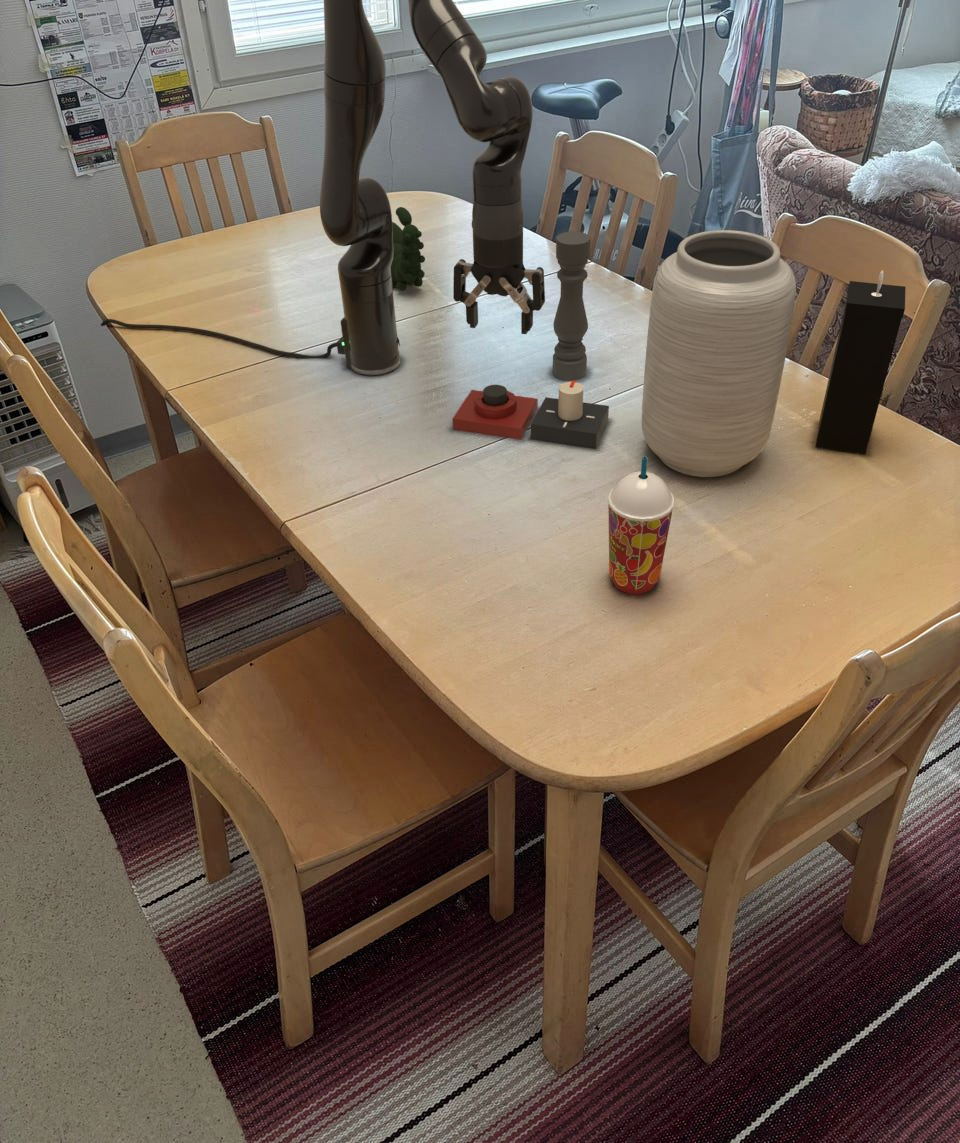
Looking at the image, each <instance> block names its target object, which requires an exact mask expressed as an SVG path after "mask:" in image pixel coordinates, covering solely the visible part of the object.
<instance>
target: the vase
mask: <svg viewBox="0 0 960 1143" xmlns="http://www.w3.org/2000/svg"><path fill="white" fill-rule="evenodd" d="M796 294H797V282H796V277H795V274H794V271H793V269H792V268H791V267H790V265H789V264H788V263H787V262H786V261H785V260H784V259H782V258H781V250H780V248H779V246H778V245H777V243H775V242H774V241H772V240H771V239H769V238H768V237H765V236H762V235H760V234H757V233H753V232H748V231H743V230H742V231H741V230H732V229H715V230H706V231H702V232H698V233H694V234H691V235H689V236H687V237H685V238H684V239H683V240H682V241H680V243H679V244H678V246H677V249H676V252H674V253H672V254H670V255H669V256H668V257H666V258H665V259H664V260H663V261H662V263H660V265H659V267H658V268H657V271H656V273H655V276H654V279H653V284H652V290H651V299H650V305H649V316H648V325H647V326H648V327H647V336H646V337H647V338H646V347H645V348H646V349H645V362H644V371H643V388H642V398H641V399H642V400H641V431H642V435H643V438H644V440H645V443H646V445H648V447H649V449H650V450H651V451H652V452H653V453H654V454H655V455H656V456H657V457H658V458H659V459H660V461H661V462H662V463H663V464H665V465H666V466H667V467H669V468H670V469H672V470H673V471H676V472H678V473H681V474H683V475H687V476H691V477H692V476H693V477H699V478H717V477H722V476H726V475H729V474H732V473H734V472H736V471H738V470H739V469H740V468H742V467H743V466H745V465H747V464H749V463H750V462H752V461H753V460H754V459H756V458H757V457H758V456H759V454H761V452H763V450H764V448H765V447H766V445H767V443H768V442H769V439H770V435H771V431H772V429H773V428H772V427H773V424H774V419H775V415H776V414H775V413H776V408H777V404H778V398H779V395H780V390H781V384H782V379H783V378H782V377H783V372H784V367H785V362H786V355H787V350H788V345H789V340H790V334H791V328H792V322H793V316H794V310H795V309H794V308H795V302H796Z"/></svg>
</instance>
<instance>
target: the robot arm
mask: <svg viewBox="0 0 960 1143" xmlns="http://www.w3.org/2000/svg"><path fill="white" fill-rule="evenodd" d="M406 1H407V8H408V15H409V22H410V26H411V29H412V34H413V35H414V38H415V41H416V42H417V44H418V46H419V48H420V49H421V51H422V52H423V53H424V55H425V57H426V58H427V60H429V62H430V63H431V65H432V66H433V68H434V69H435V70H436V72H437V74H438V75H439V76H440V78H441V79H442V82H443V84H444V87H445V90H446V94H447V96H448V98H449V100H450V103H451V106H452V108H453V109H452V110H453V112H454V114H455V117H456V120H457V122H458V124H459V126H460V127H461V129H462V130H463V131H464V133H465V134H467V136H469V137H470V139H473V140H474V141H477V142H479V143H488V145H487V147H486V148H485V150H484V151H483V152H481V153H480V154H479V155H478V156H476V158H475V160H474V162H473V164H472V195H473V196H472V197H473V198H472V199H473V200H472V202H473V204H472V211H471V212H472V213H471V228H472V229H471V230H472V246H473V247H472V248H473V249H472V252H473V253H472V254H473V256H472V257H473V263H470V262H467V261H466V259H463V258H460V259H459V260H458V261H457V262H456V264H455V265H454V266H453V292H452V293H453V294H452V295H453V297H452V298H453V300H454V302H461V303H462V304H464V306H465V317H466V318H465V321H466V323H467V325H469V328H470V329H476V328H477V327H478V325H479V303H478V301H477V299H478V298H479V296H480V295H481V294H482V293H483V292H484V293H487V295H490V296H494V295H498V296H501V297H506V298H507V296H509V297H510V299H512V301H513V303H516V304H517V305H518V307H519V308H520V309H521V317H520V318H521V320H520V324H521V325H520V326H521V328H520V329H521V330H520V333H521V335H527V334H528V332H531V330H532V328H533V325H534V311H537V312H538V311H540V310H542V307H543V306H544V304H545V303H546V291H545V290H546V289H545V271H544V268H543V267H541V266H538V267H537V268H536V269H526V267H525V265H524V209H523V202H522V200H523V199H522V166H523V162H524V160H525V156H526V152H527V147H528V142H529V139H530V134H531V131H532V130H531V129H532V123H533V117H534V114H533V113H534V110H533V108H534V107H533V101H532V97H531V94H530V92H529V90H528V87H527V85H526V84H525V83H524V82H523V80H521V79H519V78H517V77H513V76H505V77H501V78H498V79H496V80H492V81H489V82H486V83H485V82H483V81H482V79H481V78H480V76H479V75H480V73H482V71H483V70H484V69H485V66H486V64H487V60H488V54H487V51H486V48H485V46H484V44H483V43H482V41H481V40H480V38H479V37H478V36H477V34H476V33H475V31H474V29H473V28H472V27H471V25H470V24H469V22H468V21H467V19H466V18H465V17H464V15H463V14H462V12H461V11H460V10H459V9H458V8H459V7H457V5H456V4H455V2H454V0H406ZM323 26H324V29H323V30H324V61H323V62H324V63H323V64H324V65H323V66H324V67H323V69H324V70H323V76H324V77H323V88H324V89H323V93H324V147H323V148H324V149H323V165H322V173H321V174H322V175H321V183H320V195H319V215H320V220H321V225H322V228H323V231H324V233H325V235H326V236H327V238H328V239H329V240H330V241H331V242H332V243H333V244H334V245H336V246H339V247H348V246H349V247H348V248H347V250H346V252H345V253H344V254H343V255H342V256H341V258H340V259H339V260H338V263H337V273H338V279H339V281H338V282H339V287H340V295H341V302H342V310H343V317H342V318H341V320H340V329H341V336H340V338H339V339H338V340H337V341H336V342H333V343H331V344H329V345H328V346H327V348H326V352H325V353H323V354H319V355H310V354H309V355H307V354H303V353H297V352H292V351H285V350H279V349H276V348H272V347H270V346H269V347H268V346H265V345H263V344H259V343H257V342H253V341H249V340H246V339H243V338H239V337H236V336H232V335H229V334H226V333H221V332H218V331H213V330H208V329H204V328H203V329H202V328H197V327H189V326H181V325H168V324H137V323H136V324H135V323H127V322H124V321H120V320H117V319H114V318H106V319H104V320H103V321H102V322H101V323H100V327H104V326H106V325H107V324H115V325H118V326H120V327H123V328H128V329H129V328H130V329H157V330H158V329H159V330H174V331H184V332H185V331H186V332H192V333H198V334H204V335H210V336H214V337H218V338H222V339H226V340H229V341H234V342H237V343H240V344H242V345H246V346H249V347H253V348H255V349H259V350H263V351H266V352H268V353H269V352H270V353H272V354H275V355H280V356H285V357H293V358H298V359H302V360H303V359H307V360H308V359H310V360H311V359H327V358H328V357H330V356H331V355H332V349H334V348H336V349H337V354H338V355H344V358H345V364H346V365H345V366H346V369H350V370H352V371H353V372H354V373H356V374H359V375H364V376H380V375H385V374H388V373H390V372H392V371H395V370H396V369H397V368H398V367H399V366H400V365H401V356H400V349H399V348H400V346H401V345H400V339H399V336H398V330H397V319H396V308H395V299H394V298H395V297H394V290H393V289H394V288H392V278H391V264H392V261H393V229H392V222H393V216H392V215H393V213H392V208H391V203H390V199H389V196H388V193H387V192H386V191H385V188H384V187H383V185H381V183H380V182H378V181H377V180H376V179H374V178H372V177H362V178H361V177H360V173H361V169H362V168H361V167H362V164H363V160H364V158H365V156H366V152H367V151H368V149H369V146H370V144H371V142H372V139H373V137H374V135H375V134H376V132H377V129H378V126H379V124H380V121H381V119H382V116H383V112H384V106H385V100H386V99H385V96H386V76H387V75H386V74H387V72H386V71H387V70H386V68H387V67H386V60H385V55H384V53H383V49H382V47H381V45H380V42H379V40H378V38H377V36H376V34H375V32H374V30H373V27H372V26H371V24H370V22H369V19H368V17H367V14H366V12H365V9H364V4H363V0H323ZM470 273H471V275H472V276H473V277H474V279H475V280H476V282H477V284H476V285H475V287H474V288H473V289H472V291H471V292H468V291H466V288H467V286H466V285H467V277H468V276H469V275H470ZM525 279H527V281H528V283H529V285H531V286H532V297H531V296H530V295H529V293H528V290H527V288H526V286H525V284H524V283H523V282H522V281H523V280H525Z"/></svg>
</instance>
